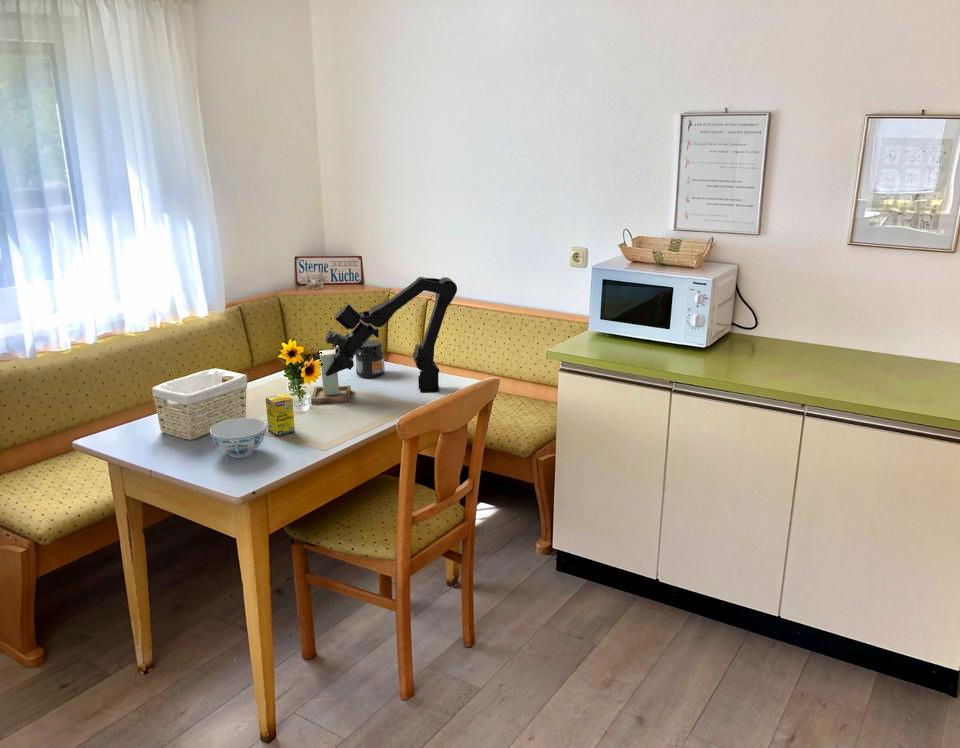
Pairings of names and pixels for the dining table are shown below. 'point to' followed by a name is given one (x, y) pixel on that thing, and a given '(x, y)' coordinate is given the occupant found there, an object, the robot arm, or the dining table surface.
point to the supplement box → (280, 414)
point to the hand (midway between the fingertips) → (325, 372)
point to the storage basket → (200, 402)
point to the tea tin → (330, 381)
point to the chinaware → (238, 435)
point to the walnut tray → (331, 396)
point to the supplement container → (370, 360)
